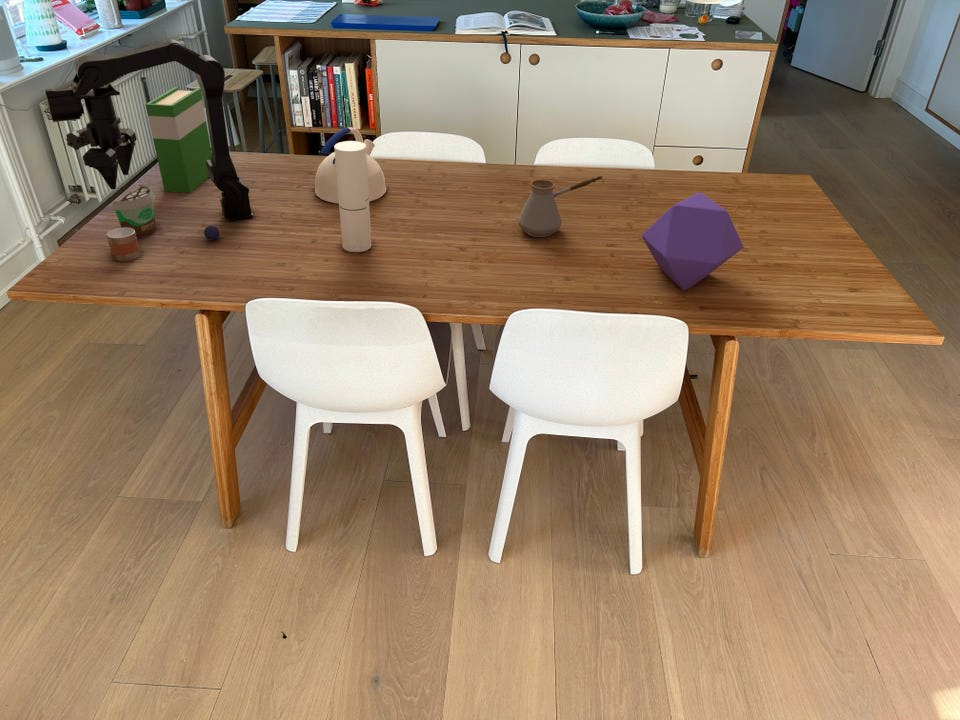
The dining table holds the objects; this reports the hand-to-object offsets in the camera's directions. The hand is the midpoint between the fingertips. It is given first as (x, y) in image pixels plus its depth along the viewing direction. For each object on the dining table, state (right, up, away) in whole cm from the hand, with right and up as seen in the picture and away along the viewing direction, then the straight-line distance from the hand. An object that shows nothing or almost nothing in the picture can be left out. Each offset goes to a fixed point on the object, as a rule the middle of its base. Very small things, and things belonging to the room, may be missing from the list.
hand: (119, 181), depth 178 cm
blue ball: (+20, -13, +6) cm, 25 cm away
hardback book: (+2, +9, +38) cm, 39 cm away
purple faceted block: (+135, -24, -3) cm, 137 cm away
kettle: (+49, +6, +35) cm, 61 cm away
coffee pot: (+107, -9, +17) cm, 108 cm away
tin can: (+3, -18, -2) cm, 18 cm away
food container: (+2, -10, +9) cm, 14 cm away
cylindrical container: (+56, -15, +6) cm, 58 cm away
